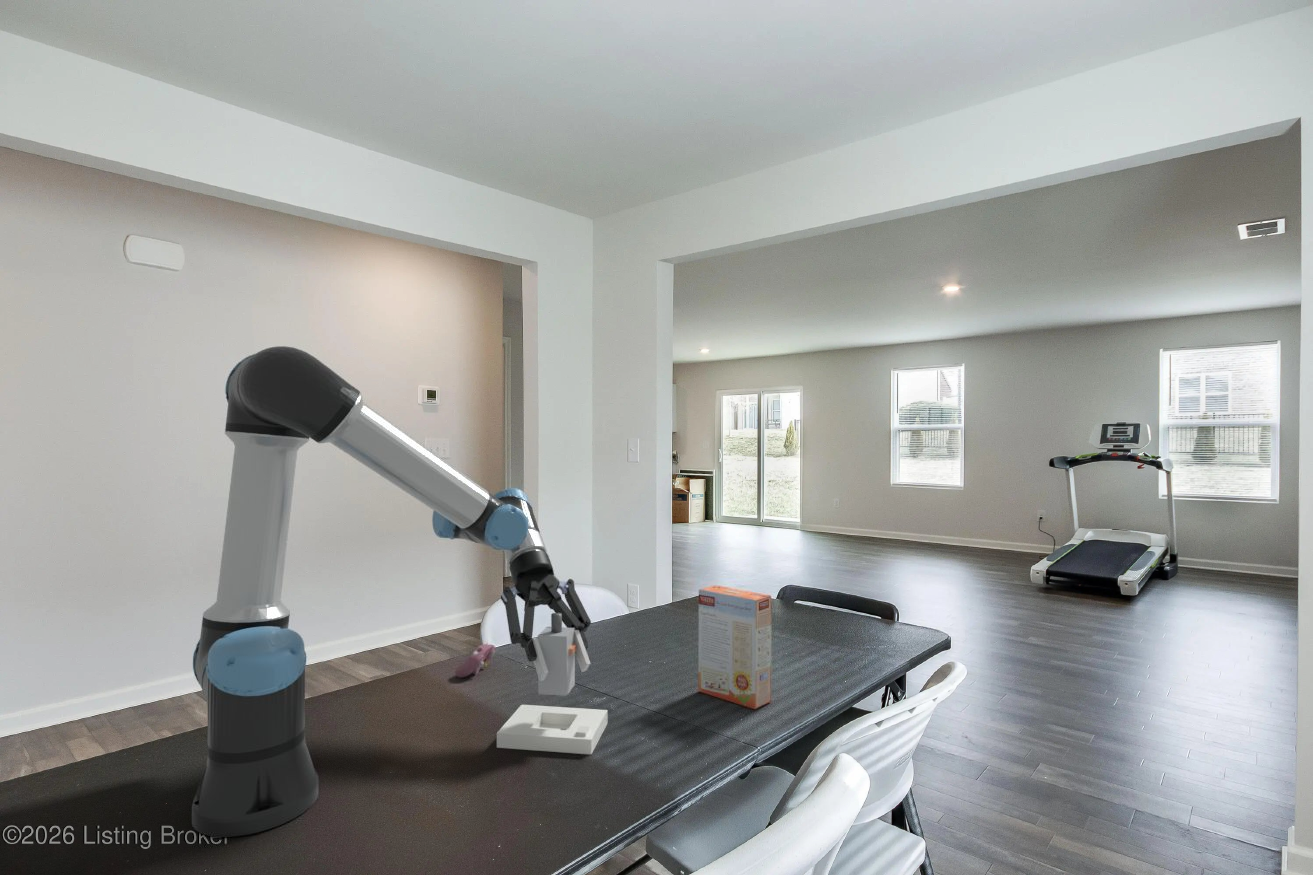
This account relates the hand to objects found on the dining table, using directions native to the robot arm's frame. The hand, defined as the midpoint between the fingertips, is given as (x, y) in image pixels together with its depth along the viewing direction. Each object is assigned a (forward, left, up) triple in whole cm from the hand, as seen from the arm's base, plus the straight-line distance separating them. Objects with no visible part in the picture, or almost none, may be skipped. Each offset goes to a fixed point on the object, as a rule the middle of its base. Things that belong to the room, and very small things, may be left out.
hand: (565, 671), depth 115 cm
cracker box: (+27, +24, -12) cm, 39 cm away
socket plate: (-3, +2, -12) cm, 12 cm away
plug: (-2, +3, -4) cm, 5 cm away
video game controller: (-29, +30, -12) cm, 43 cm away
